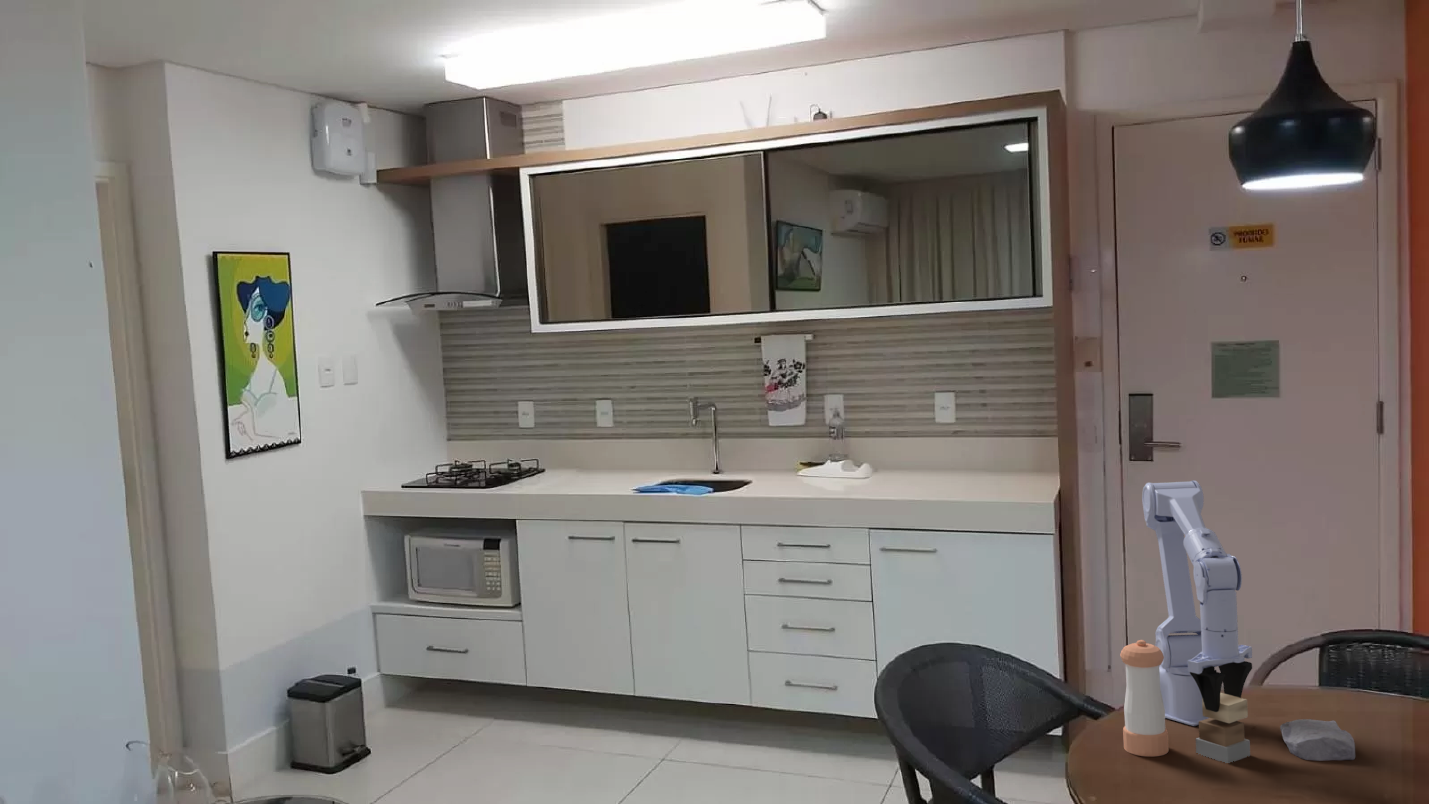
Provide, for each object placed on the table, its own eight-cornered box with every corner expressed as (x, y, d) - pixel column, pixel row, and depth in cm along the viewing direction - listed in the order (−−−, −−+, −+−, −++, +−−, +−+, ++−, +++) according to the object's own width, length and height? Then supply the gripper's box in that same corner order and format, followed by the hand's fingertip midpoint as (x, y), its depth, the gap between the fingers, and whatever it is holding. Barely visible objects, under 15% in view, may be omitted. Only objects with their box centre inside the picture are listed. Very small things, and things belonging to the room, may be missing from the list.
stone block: (1299, 772, 185) (1363, 760, 183) (1291, 744, 185) (1355, 732, 183) (1277, 749, 196) (1336, 738, 194) (1269, 722, 196) (1329, 711, 195)
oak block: (1202, 715, 190) (1202, 698, 190) (1221, 709, 192) (1220, 692, 192) (1229, 723, 186) (1228, 705, 185) (1247, 717, 188) (1247, 699, 188)
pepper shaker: (1175, 747, 194) (1170, 638, 193) (1159, 759, 188) (1154, 648, 188) (1133, 739, 199) (1128, 633, 198) (1117, 751, 193) (1112, 642, 192)
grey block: (1196, 755, 190) (1195, 738, 190) (1218, 748, 193) (1218, 730, 193) (1227, 766, 185) (1227, 748, 185) (1250, 757, 188) (1249, 740, 188)
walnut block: (1199, 738, 190) (1198, 721, 190) (1218, 732, 192) (1217, 715, 192) (1225, 746, 185) (1224, 729, 185) (1244, 740, 188) (1243, 722, 188)
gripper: (1213, 640, 182) (1216, 722, 182) (1267, 624, 189) (1270, 703, 189) (1175, 632, 188) (1179, 711, 188) (1229, 617, 195) (1232, 693, 196)
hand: (1222, 706), depth 189 cm, fingers closed on oak block, 5 cm apart
